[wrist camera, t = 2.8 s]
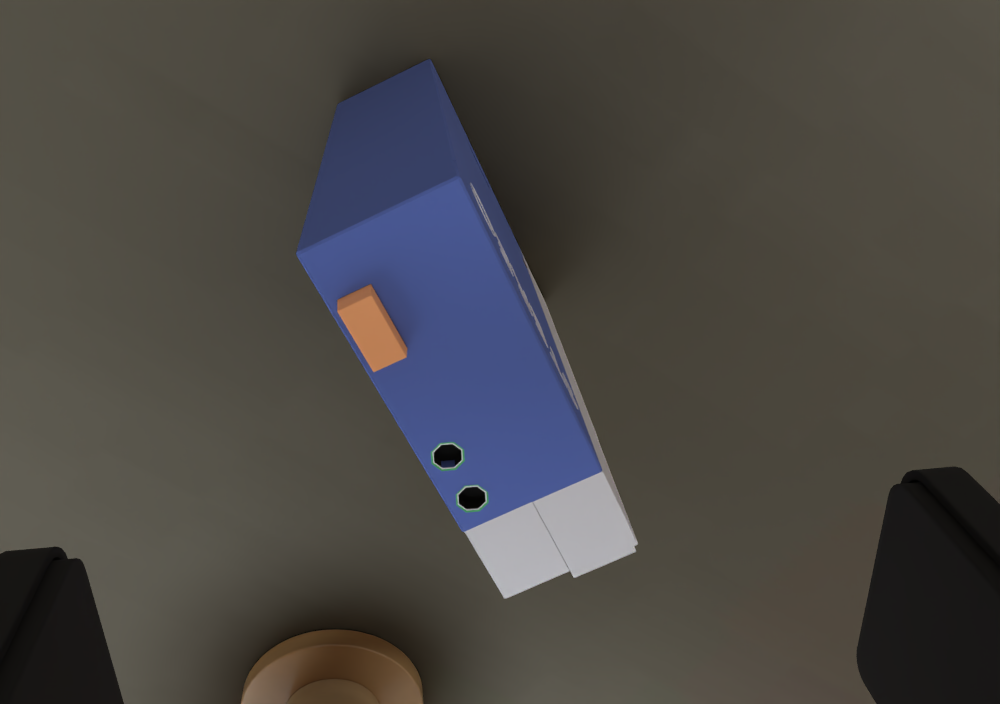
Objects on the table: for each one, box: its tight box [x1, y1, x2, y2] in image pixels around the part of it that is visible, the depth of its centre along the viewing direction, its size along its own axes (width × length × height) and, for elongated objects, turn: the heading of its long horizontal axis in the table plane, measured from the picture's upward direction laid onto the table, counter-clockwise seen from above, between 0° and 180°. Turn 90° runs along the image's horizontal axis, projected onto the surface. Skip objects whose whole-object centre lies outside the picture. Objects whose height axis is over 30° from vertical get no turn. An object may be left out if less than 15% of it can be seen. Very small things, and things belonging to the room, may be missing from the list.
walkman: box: [296, 59, 638, 599], centre depth 20 cm, size 8×3×12 cm, turn 24°
